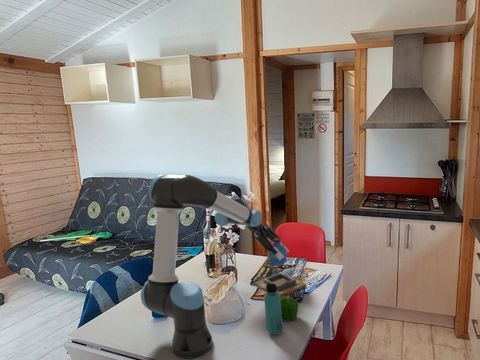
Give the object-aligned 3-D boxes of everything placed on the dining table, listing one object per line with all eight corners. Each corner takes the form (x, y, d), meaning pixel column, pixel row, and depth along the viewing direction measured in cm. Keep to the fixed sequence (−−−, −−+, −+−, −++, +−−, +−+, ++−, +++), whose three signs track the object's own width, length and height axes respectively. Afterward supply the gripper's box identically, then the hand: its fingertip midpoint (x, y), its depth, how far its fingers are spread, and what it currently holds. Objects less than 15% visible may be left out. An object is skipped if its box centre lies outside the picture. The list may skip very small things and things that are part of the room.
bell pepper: (298, 312, 156) (297, 290, 154) (299, 323, 148) (298, 300, 146) (278, 312, 157) (276, 291, 155) (278, 323, 148) (277, 300, 147)
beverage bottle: (278, 340, 138) (275, 290, 134) (263, 335, 141) (259, 287, 138) (286, 330, 143) (283, 283, 140) (271, 326, 147) (267, 280, 143)
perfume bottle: (286, 261, 180) (285, 237, 178) (281, 265, 175) (279, 241, 173) (275, 259, 183) (273, 236, 181) (269, 263, 178) (268, 240, 176)
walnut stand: (305, 286, 178) (305, 280, 177) (276, 298, 169) (276, 291, 168) (282, 274, 193) (282, 268, 192) (254, 285, 184) (253, 278, 183)
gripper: (254, 220, 191) (286, 252, 187) (238, 231, 174) (272, 268, 169) (263, 210, 188) (295, 243, 183) (247, 221, 171) (282, 258, 166)
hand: (284, 255), depth 177 cm, fingers closed on perfume bottle, 7 cm apart
